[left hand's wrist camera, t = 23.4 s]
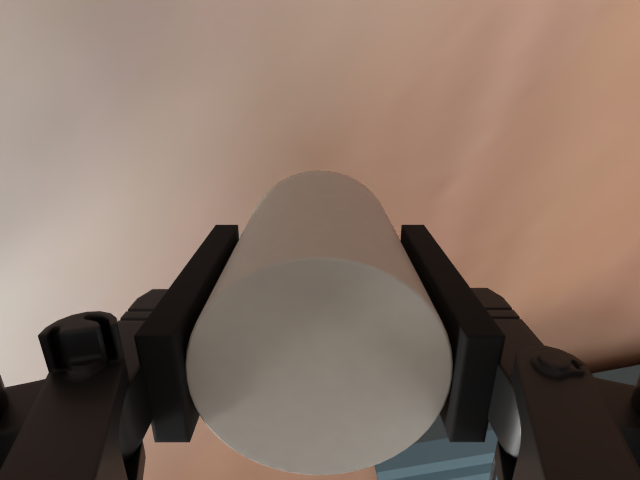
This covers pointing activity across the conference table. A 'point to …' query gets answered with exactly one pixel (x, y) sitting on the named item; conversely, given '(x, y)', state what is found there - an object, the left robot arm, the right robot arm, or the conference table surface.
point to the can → (319, 335)
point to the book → (461, 448)
